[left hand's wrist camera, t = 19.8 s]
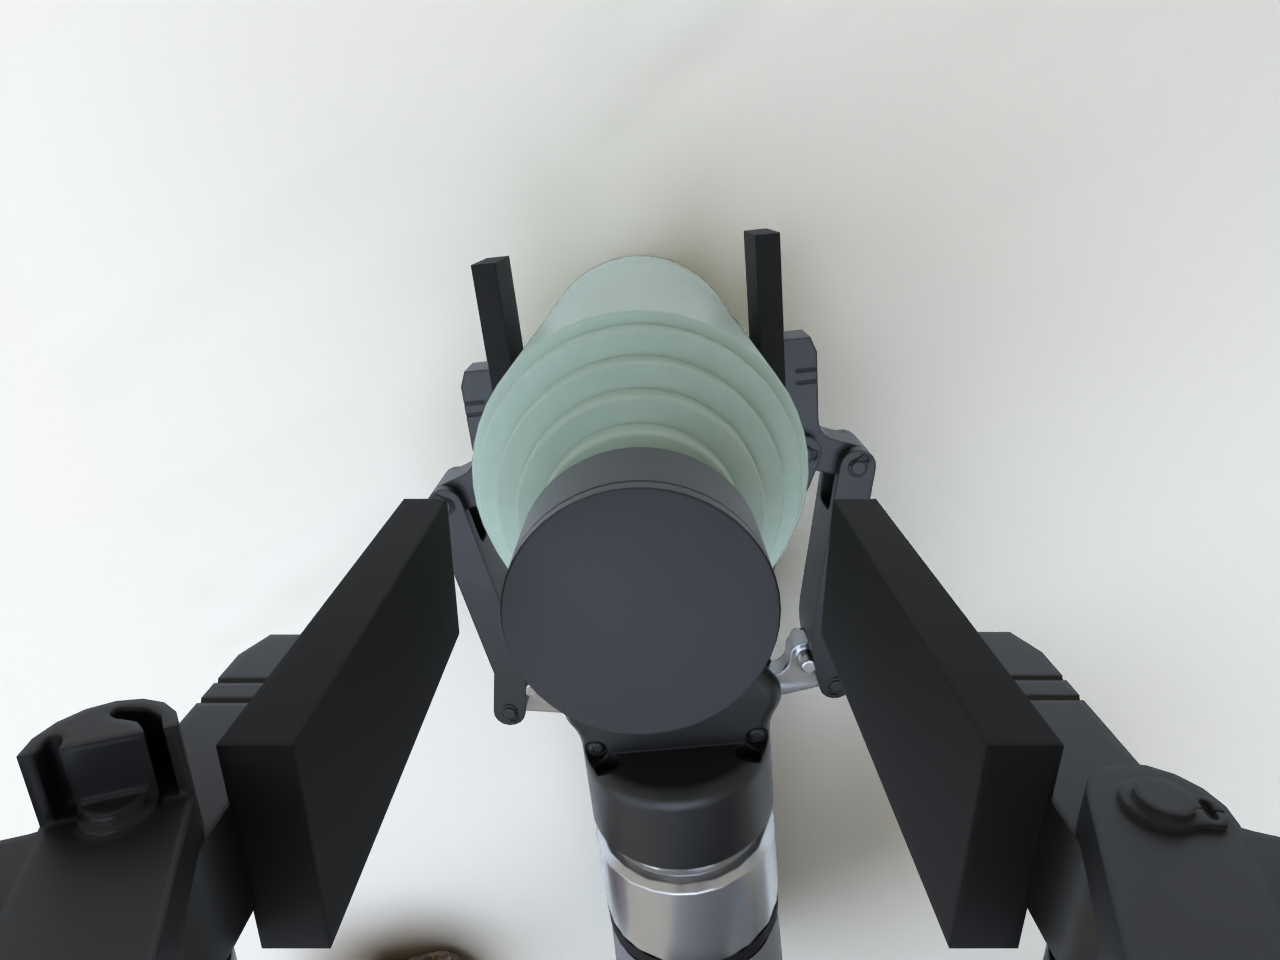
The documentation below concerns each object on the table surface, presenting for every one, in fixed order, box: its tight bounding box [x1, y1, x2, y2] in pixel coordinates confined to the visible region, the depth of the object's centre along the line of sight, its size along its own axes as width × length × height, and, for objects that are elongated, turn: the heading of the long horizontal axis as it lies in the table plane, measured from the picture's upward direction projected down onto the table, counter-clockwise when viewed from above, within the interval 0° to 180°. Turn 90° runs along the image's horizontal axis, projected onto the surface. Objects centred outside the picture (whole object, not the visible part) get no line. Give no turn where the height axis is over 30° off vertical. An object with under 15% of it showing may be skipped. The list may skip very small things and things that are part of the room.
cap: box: [500, 447, 781, 734], centre depth 14 cm, size 4×4×2 cm
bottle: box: [472, 256, 808, 568], centre depth 23 cm, size 8×8×21 cm
